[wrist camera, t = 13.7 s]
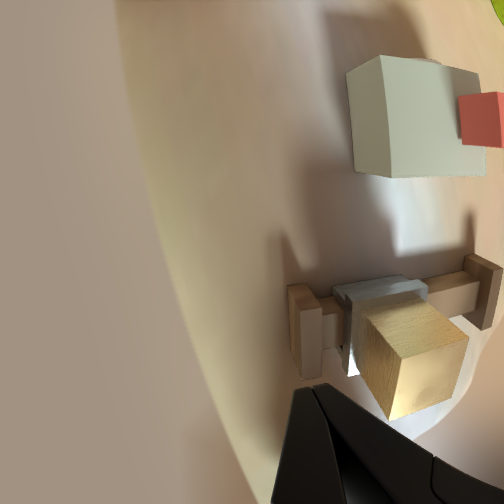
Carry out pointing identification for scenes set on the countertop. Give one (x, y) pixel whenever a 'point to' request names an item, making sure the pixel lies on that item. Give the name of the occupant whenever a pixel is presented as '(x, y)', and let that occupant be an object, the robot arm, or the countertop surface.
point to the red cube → (482, 119)
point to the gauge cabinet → (411, 119)
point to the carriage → (399, 344)
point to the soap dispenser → (499, 9)
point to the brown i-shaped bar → (439, 296)
